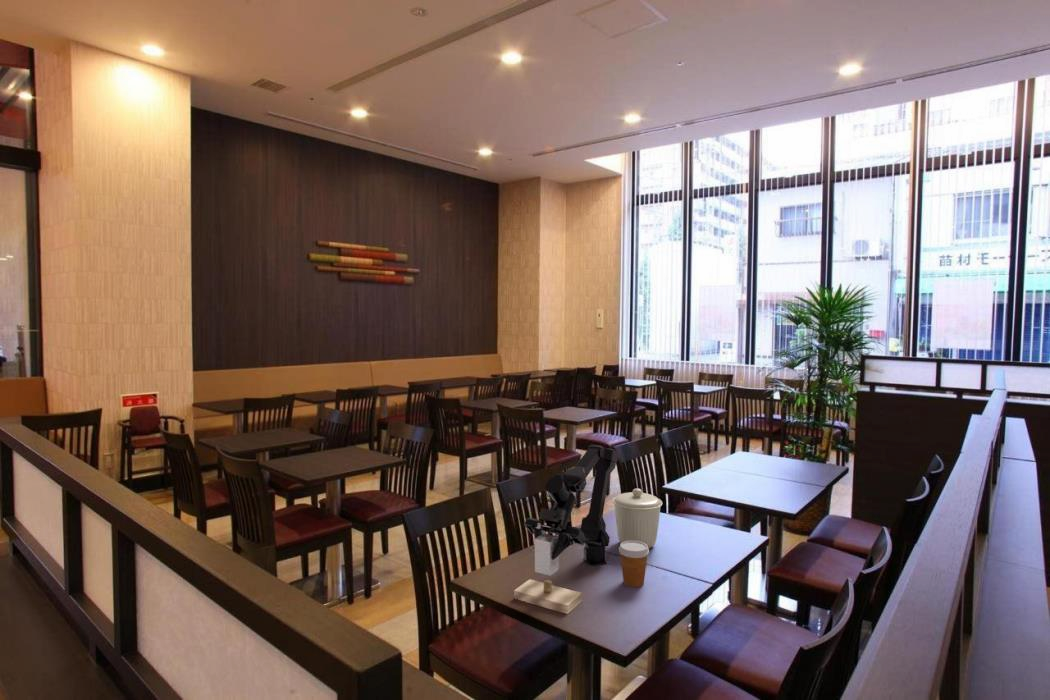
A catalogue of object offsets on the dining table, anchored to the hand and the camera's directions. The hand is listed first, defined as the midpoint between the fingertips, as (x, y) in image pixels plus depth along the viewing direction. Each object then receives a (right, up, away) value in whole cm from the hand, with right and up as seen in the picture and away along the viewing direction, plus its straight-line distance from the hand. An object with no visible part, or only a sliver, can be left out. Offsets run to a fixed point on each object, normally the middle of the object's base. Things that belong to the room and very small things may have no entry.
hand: (544, 557), depth 176 cm
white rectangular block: (+1, -5, +1) cm, 5 cm away
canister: (+36, -11, +44) cm, 58 cm away
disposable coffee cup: (+29, -13, +13) cm, 34 cm away
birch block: (+1, -13, +2) cm, 13 cm away
